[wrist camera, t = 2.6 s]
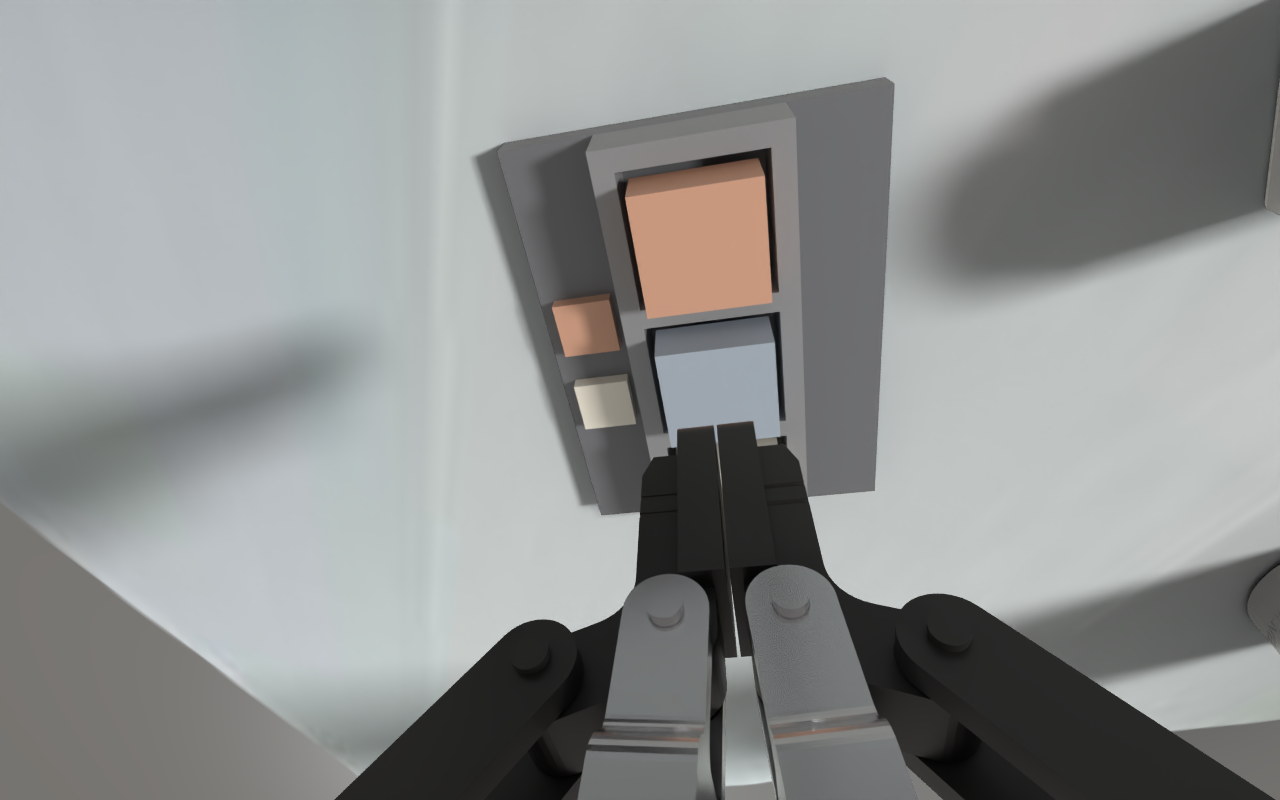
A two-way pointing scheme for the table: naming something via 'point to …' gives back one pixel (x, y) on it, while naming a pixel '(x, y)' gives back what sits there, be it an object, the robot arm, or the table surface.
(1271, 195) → the container
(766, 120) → the keypad
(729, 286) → the key terracotta
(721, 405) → the key slate
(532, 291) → the table surface
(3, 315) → the table surface
